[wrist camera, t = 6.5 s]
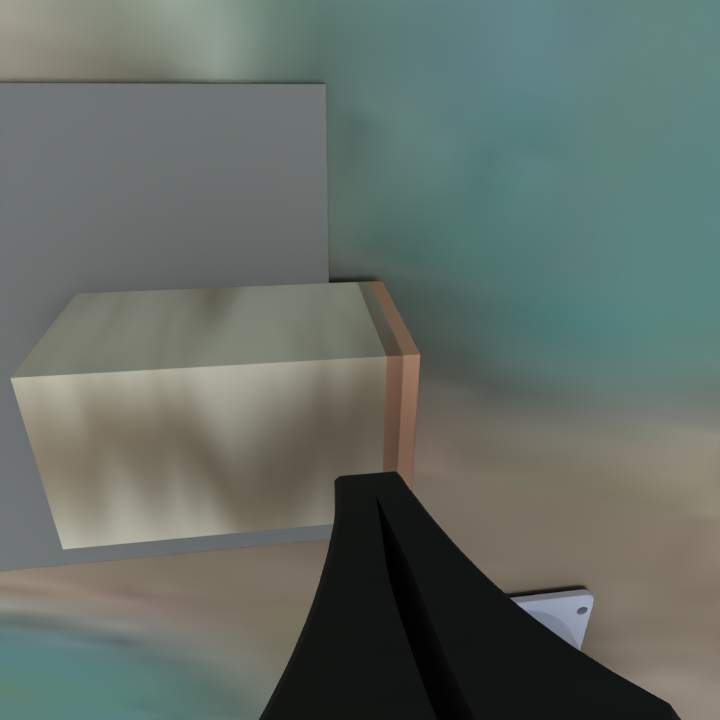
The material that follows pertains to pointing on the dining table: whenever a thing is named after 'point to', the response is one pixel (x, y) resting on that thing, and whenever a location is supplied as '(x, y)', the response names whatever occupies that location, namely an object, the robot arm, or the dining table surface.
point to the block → (216, 407)
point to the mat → (145, 237)
